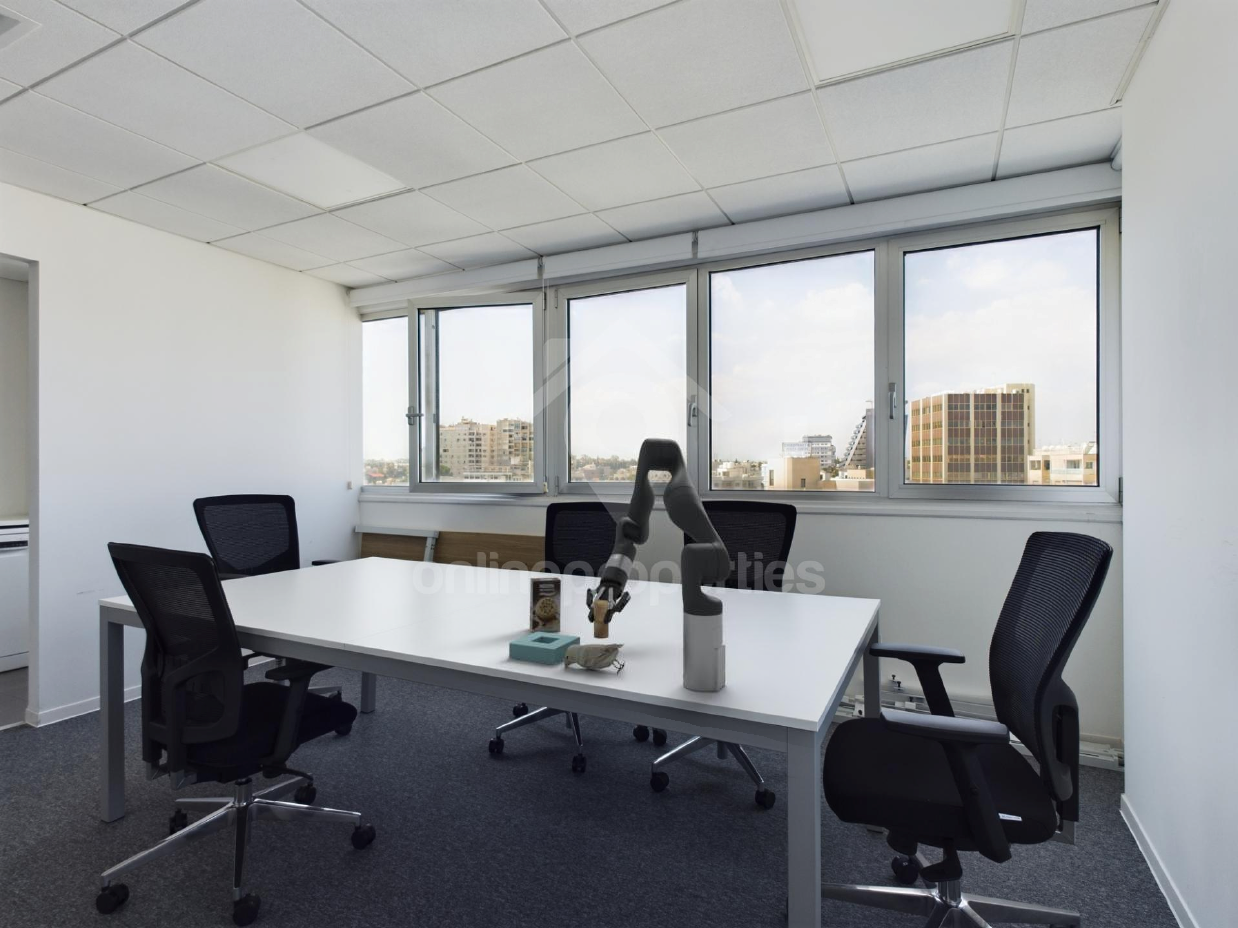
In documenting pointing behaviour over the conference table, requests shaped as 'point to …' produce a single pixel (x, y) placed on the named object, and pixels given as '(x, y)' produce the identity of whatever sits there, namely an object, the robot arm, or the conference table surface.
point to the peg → (600, 619)
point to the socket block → (542, 647)
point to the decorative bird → (593, 656)
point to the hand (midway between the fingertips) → (598, 621)
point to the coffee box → (545, 604)
